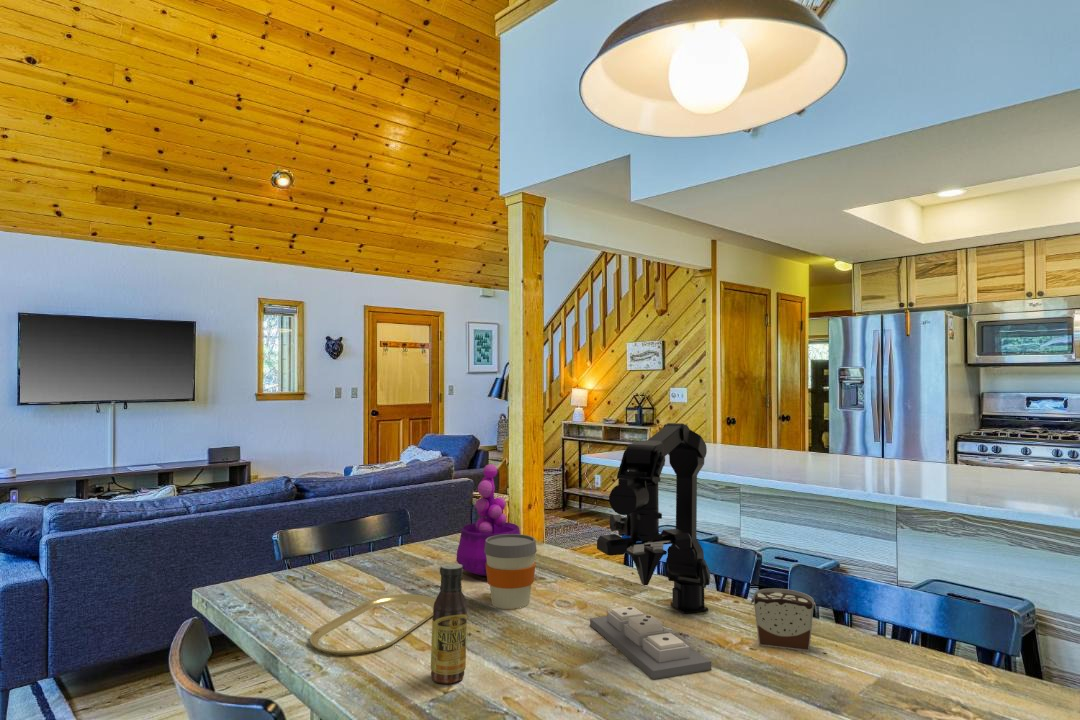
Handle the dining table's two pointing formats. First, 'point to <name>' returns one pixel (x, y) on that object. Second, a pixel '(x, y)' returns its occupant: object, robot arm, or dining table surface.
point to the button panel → (649, 649)
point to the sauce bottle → (449, 627)
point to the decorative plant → (483, 526)
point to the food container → (783, 618)
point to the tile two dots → (626, 613)
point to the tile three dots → (645, 624)
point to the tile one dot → (665, 641)
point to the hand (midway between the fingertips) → (644, 584)
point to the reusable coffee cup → (510, 569)
